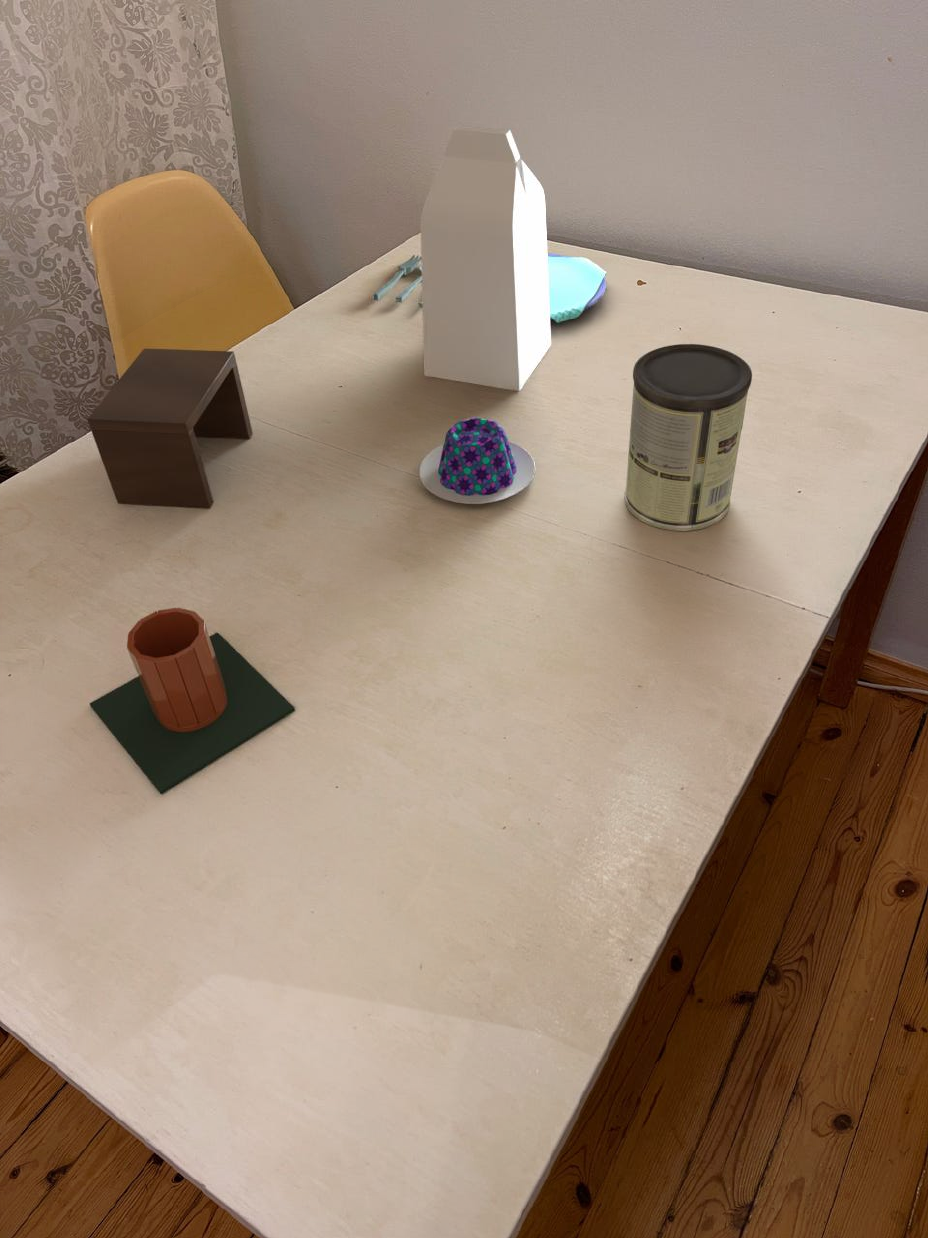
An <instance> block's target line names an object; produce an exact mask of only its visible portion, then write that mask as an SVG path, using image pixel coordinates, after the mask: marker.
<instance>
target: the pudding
mask: <svg viewBox="0 0 928 1238" xmlns="http://www.w3.org/2000/svg"><path fill="white" fill-rule="evenodd" d="M536 468H537V466H536V462H535V460H534V458H533V456H532V455H531V453H530V452H529V451H528V450H527V449H525V448H524V447H522V446H521V445H519V444H517V443H515V442H513V441H510V440H509V438H508V436H507V432H506V431H505V430H504V428H503V427H502V426H500V425H499V423H498V422H497V421H495V420H493V419H489V418H488V419H484V418H481V417H471V418H469V419H461V420H459V421H458V422H456V423H454V425H453V426H452V427H449V429H448V430H447V431H446V433H445V436H444V442H443V444H441V445H439V446H437V447H435V448H434V449H432V450H431V451H430V452H428V453H427V455H425V456H424V458H423V459H422V461H421V463H420V465H419V469H418V476H419V479H420V482H421V484H422V485H423V487H425V489H426V490H428V491H429V492H430V493H432V494H433V495H435V496H436V497H438V498H441V499H443V500H446V501H450V502H453V503H459V504H468V505H480V504H490V503H495V502H499V501H502V500H506V499H509V498H511V497H513V496H515V495H517V494H519V493H520V492H522V491H524V489H525V488H527V487H528V486H529V485H530V483H531V482H532V481H533V479H534V477H535V475H536Z"/></svg>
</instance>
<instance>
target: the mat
mask: <svg viewBox="0 0 928 1238" xmlns="http://www.w3.org/2000/svg"><path fill="white" fill-rule="evenodd" d="M209 637H210V640H211V644H212V647H213V650H214V653H215V656H216V659H217V662H218V665H219V669H220V672H221V675H222V678H223V681H224V684H225V687H226V694H227V704H226V707H225V709H224V711H223V713H222V714H221V715H220V716H219V717H218V718H217V719H216V720H215V721H214V722H212V723H211V724H209V725H208V726H206V727H204V728H201V729H198V730H195V731H190V732H176V731H172V730H169V729H167V728H165V727H164V726H162V725H161V724H160V723H159V721H158V720H157V718H156V716H155V715H154V713H153V711H152V708H151V706H150V703H149V701H148V698H147V696H146V693H145V691H144V688H143V686H142V683H141V681H140V678H139V676H138V675H137V676H136V677H134V678H133V679H130V680H129V681H127V682H125V683H123V684H121V685H120V686H118V687H116V688H115V689H112V690H110V691H109V692H107V693H106V694H103V695H101V696H100V697H98V698H96V699H95V700H93V701H91V702H90V703H89V706H90V708H91V709H92V710H93V711H94V713H95V714H96V715H97V716H98V718H99V719H100V720H101V721H102V723H103V724H104V726H105V727H106V729H108V730H109V732H110V733H111V734H112V736H114V738H115V739H116V740H117V741H118V743H119V744H120V745H121V746H122V748H123V749H124V750H125V751H126V752H127V754H128V755H129V756H130V758H131V759H132V760H133V762H134V763H135V764H136V765H137V766H138V768H139V769H140V770H141V771H142V773H143V774H144V775H145V777H146V778H147V779H148V780H149V781H150V783H151V785H153V786H154V788H155V789H156V791H158V793H159V794H160V795H163V794H164V793H166V792H168V791H169V790H171V789H173V788H174V787H175V786H177V785H179V784H180V783H182V782H184V781H185V780H187V779H188V778H190V777H193V775H195V774H196V773H198V772H200V771H202V770H203V769H205V768H206V767H208V766H210V765H211V764H212V763H214V762H215V761H217V760H219V759H220V758H222V757H224V756H225V755H227V754H228V753H230V752H232V751H233V750H235V749H237V748H238V747H240V746H241V745H243V744H244V743H246V742H247V741H249V740H251V739H252V738H254V737H256V736H257V735H259V734H261V733H262V732H264V731H265V730H267V729H268V728H270V727H272V726H273V725H275V724H276V723H278V722H280V721H281V720H283V719H284V718H287V717H288V716H289V715H291V714H292V713H294V712H296V708H295V706H294V705H293V704H291V703H290V701H288V699H286V698H285V696H284V695H282V694H281V693H280V692H279V691H278V690H277V689H276V688H275V687H274V685H272V684H271V683H270V682H269V681H268V680H267V679H266V678H265V677H264V676H263V675H262V673H260V672H259V671H258V670H257V669H256V668H255V667H254V666H253V665H252V664H251V663H250V662H249V661H248V660H246V658H245V657H244V656H242V654H240V652H238V651H237V650H236V648H235V647H233V646H232V644H231V643H230V642H228V640H227V639H225V638H224V637H223V636H222V635H221V634H220V633H219V632H218V631H217V632H215V633H213V634H211V635H209Z"/></svg>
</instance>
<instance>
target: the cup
mask: <svg viewBox="0 0 928 1238" xmlns="http://www.w3.org/2000/svg"><path fill="white" fill-rule="evenodd" d="M126 640H127V641H126V649H127V651H128V654H129V656H130V658H131V661H132V663H133V664H132V665H133V666H134V669H135V671H136V673H137V677H138V676H139V678H140V681H141V683H142V686H143V688H144V691H145V693H146V696H147V698H148V701H149V703H150V706H151V708H152V711H153V713H154V715H155V716H156V718H157V720H158V721H159V723H160V724H161V725H162V726H164V727H165V728H167V729H169V730H172V731H176V732H190V731H195V730H198V729H201V728H204V727H206V726H208V725H209V724H211V723H212V722H214V721H215V720H216V719H217V718H218V717H219V716H220V715H221V714H222V713H223V711H224V709H225V707H226V704H227V694H226V687H225V684H224V681H223V678H222V675H221V672H220V669H219V665H218V662H217V659H216V656H215V653H214V650H213V647H212V644H211V640H210V635H209V631H208V629H207V625H206V622H205V620H204V619H203V618H202V617H201V615H199V614H198V613H197V612H196V611H194V610H192V609H187V608H183V607H171V608H165V609H159V610H156V611H154V612H152V613H150V614H148V615H146V616H144V617H142V618H141V619H139V620H138V621H137V622H136V623H135V624H134V625H133V627H132V628H130V630H129V632H128V634H127V639H126Z"/></svg>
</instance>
